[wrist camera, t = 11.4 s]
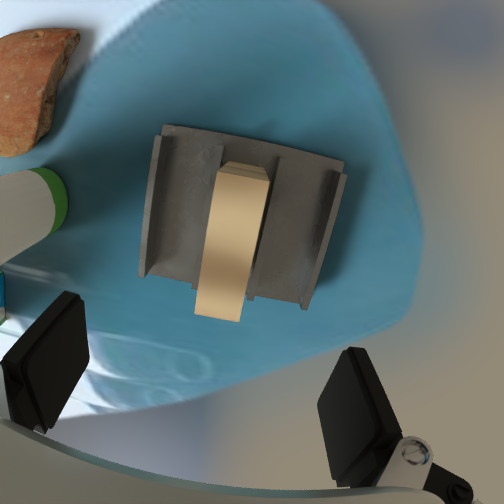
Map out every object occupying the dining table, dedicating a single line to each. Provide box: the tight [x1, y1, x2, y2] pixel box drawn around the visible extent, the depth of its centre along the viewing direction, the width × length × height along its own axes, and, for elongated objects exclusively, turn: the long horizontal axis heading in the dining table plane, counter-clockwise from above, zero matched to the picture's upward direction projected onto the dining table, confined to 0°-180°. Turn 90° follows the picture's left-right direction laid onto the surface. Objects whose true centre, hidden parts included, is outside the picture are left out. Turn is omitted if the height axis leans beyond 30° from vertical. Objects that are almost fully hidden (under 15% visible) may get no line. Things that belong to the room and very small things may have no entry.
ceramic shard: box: [0, 28, 80, 157], centre depth 23 cm, size 15×6×15 cm
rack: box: [138, 124, 348, 310], centre depth 28 cm, size 15×17×4 cm
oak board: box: [194, 161, 270, 322], centre depth 24 cm, size 10×3×10 cm, turn 169°
